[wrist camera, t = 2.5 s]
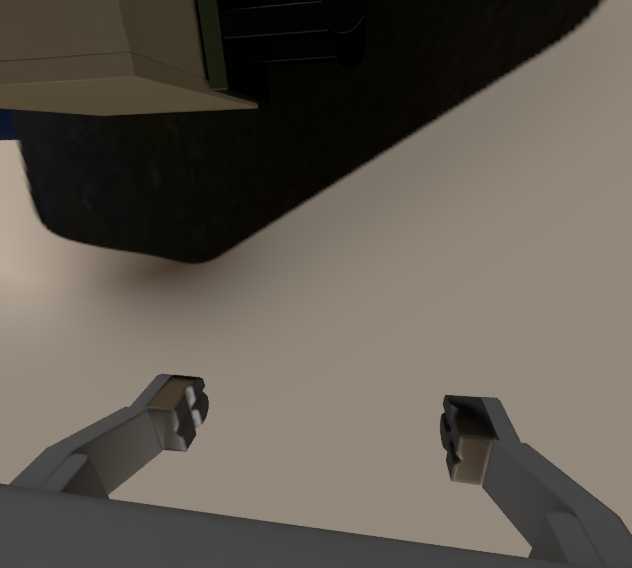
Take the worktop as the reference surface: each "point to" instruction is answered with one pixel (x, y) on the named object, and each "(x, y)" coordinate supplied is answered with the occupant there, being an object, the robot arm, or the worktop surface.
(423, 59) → the worktop surface
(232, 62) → the door with handle
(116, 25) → the cube with dark spot
